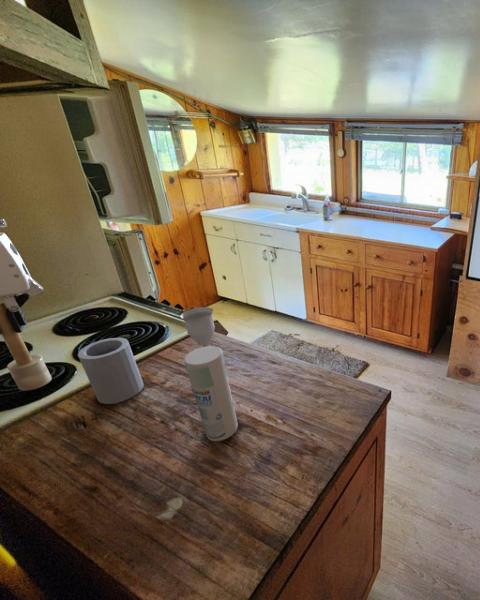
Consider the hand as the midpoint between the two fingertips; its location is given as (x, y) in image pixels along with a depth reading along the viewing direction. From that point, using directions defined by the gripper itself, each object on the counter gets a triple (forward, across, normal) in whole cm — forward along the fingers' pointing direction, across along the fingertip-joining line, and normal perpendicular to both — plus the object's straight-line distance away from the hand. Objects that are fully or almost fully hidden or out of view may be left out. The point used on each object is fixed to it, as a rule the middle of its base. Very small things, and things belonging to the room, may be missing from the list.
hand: (9, 331), depth 58 cm
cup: (+26, -10, -10) cm, 30 cm away
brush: (+12, 0, 0) cm, 12 cm away
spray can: (+26, -26, +19) cm, 41 cm away
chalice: (+26, -30, -6) cm, 40 cm away
